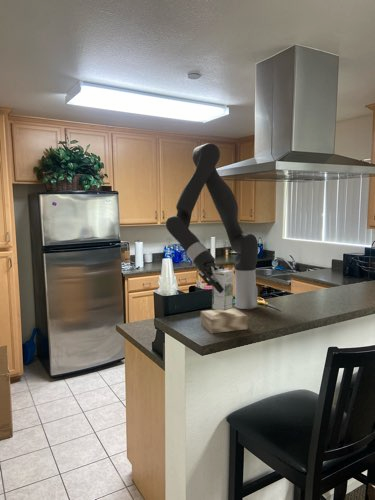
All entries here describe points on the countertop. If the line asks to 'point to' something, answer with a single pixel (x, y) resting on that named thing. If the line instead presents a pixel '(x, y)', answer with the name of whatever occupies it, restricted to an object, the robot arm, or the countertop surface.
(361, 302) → the countertop surface
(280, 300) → the countertop surface
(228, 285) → the syrup box
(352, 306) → the countertop surface
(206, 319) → the riser block
